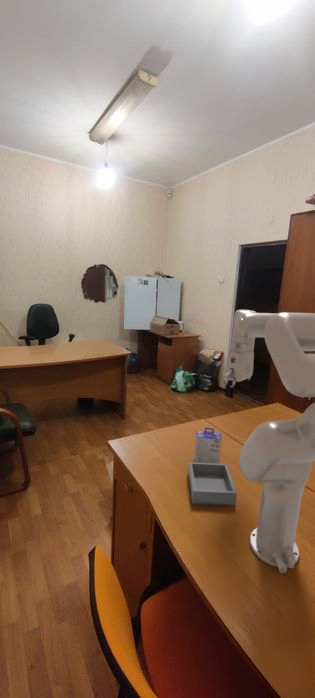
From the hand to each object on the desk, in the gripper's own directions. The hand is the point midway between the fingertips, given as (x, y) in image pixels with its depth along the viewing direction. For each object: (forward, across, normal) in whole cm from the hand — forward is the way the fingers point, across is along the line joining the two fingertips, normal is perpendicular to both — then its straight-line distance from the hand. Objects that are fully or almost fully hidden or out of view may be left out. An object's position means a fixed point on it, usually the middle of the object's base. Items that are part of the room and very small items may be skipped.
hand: (236, 393), depth 106 cm
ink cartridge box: (+33, 0, +9) cm, 35 cm away
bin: (+32, -12, -1) cm, 35 cm away
